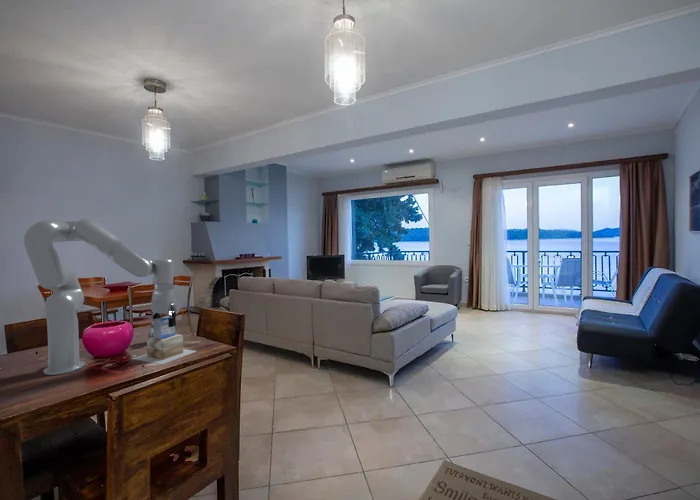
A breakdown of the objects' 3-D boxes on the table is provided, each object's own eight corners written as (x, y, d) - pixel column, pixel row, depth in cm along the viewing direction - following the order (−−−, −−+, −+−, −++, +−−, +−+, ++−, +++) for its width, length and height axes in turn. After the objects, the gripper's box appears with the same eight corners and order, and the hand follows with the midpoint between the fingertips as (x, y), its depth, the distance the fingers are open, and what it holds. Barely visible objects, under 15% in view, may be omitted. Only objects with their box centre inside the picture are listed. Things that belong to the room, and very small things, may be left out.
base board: (132, 360, 148) (132, 358, 148) (168, 348, 165) (168, 346, 165) (161, 366, 141) (161, 364, 141) (197, 353, 157) (197, 351, 157)
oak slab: (147, 356, 150) (147, 347, 150) (167, 350, 159) (167, 341, 159) (163, 359, 146) (163, 350, 146) (183, 352, 155) (183, 343, 155)
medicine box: (161, 339, 148) (160, 319, 148) (152, 339, 149) (152, 319, 149) (175, 334, 156) (174, 315, 155) (167, 334, 157) (167, 315, 157)
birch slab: (147, 347, 150) (146, 338, 150) (167, 341, 159) (167, 333, 159) (163, 350, 146) (163, 341, 146) (183, 343, 155) (182, 335, 155)
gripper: (142, 286, 152) (142, 325, 152) (170, 289, 145) (170, 329, 145) (157, 285, 159) (158, 322, 159) (185, 287, 152) (185, 325, 152)
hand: (164, 325), depth 152 cm, fingers open, 9 cm apart
